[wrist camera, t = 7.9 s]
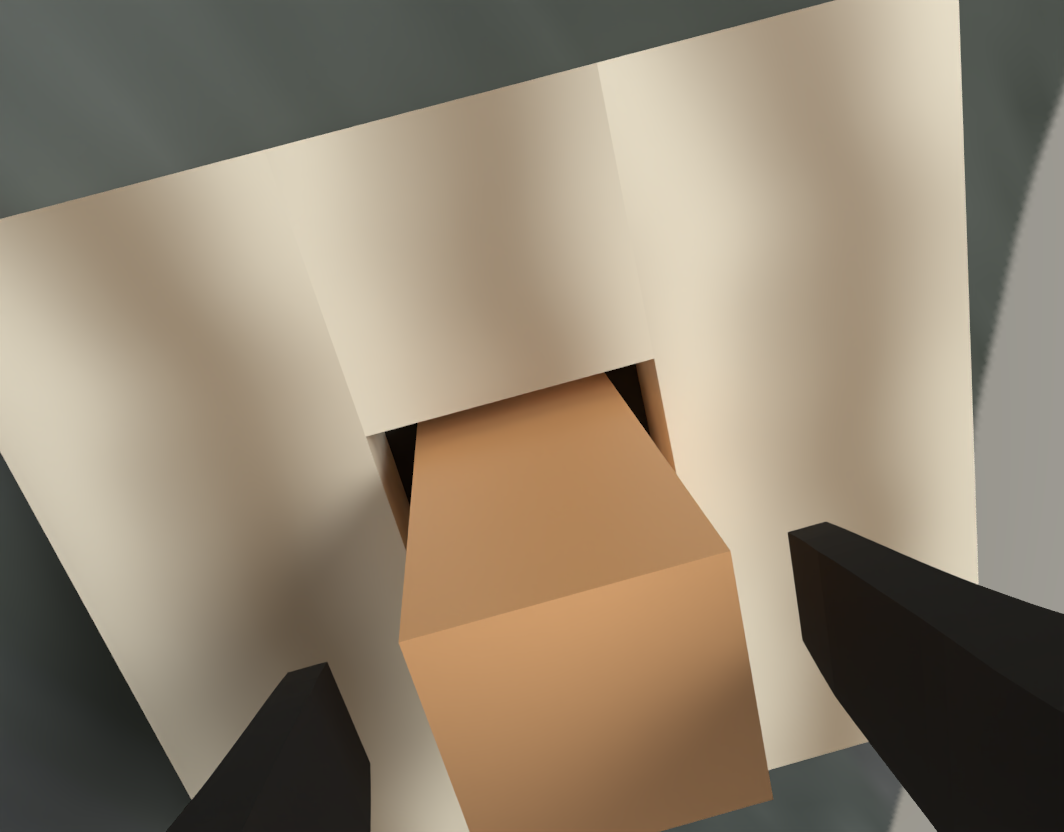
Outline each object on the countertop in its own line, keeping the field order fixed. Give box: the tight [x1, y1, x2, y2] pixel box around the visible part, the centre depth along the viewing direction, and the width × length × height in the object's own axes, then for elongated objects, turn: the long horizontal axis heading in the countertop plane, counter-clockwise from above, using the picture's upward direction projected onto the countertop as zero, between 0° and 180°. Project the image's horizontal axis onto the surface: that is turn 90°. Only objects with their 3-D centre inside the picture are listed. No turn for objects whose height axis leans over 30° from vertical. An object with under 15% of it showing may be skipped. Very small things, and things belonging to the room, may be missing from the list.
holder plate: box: [0, 0, 979, 832], centre depth 16 cm, size 18×16×2 cm
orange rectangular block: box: [398, 372, 773, 832], centre depth 13 cm, size 4×4×8 cm
